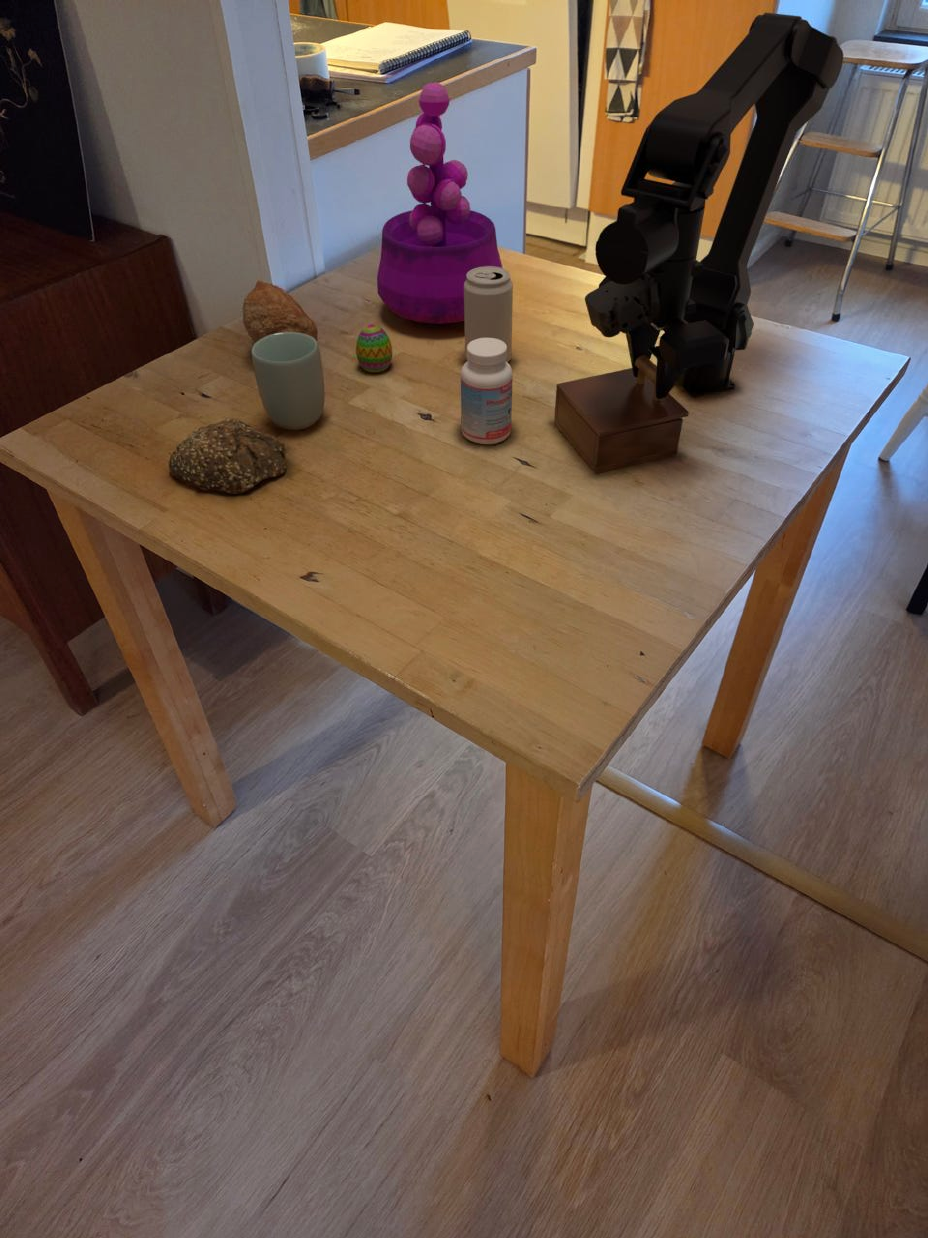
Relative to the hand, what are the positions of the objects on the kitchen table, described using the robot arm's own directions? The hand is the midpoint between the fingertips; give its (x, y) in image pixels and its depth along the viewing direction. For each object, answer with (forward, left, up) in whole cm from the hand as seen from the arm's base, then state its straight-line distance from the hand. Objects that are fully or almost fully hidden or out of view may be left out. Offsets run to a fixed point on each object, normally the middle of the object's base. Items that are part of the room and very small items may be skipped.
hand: (649, 386), depth 99 cm
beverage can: (+11, -24, -6) cm, 27 cm away
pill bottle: (+18, -7, -6) cm, 20 cm away
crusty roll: (+37, -36, -6) cm, 52 cm away
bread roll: (+48, -11, -6) cm, 50 cm away
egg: (+26, -28, -6) cm, 39 cm away
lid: (+4, 0, -1) cm, 4 cm away
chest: (+4, 0, -6) cm, 7 cm away
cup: (+39, -18, -6) cm, 43 cm away
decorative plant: (+12, -41, -6) cm, 43 cm away
